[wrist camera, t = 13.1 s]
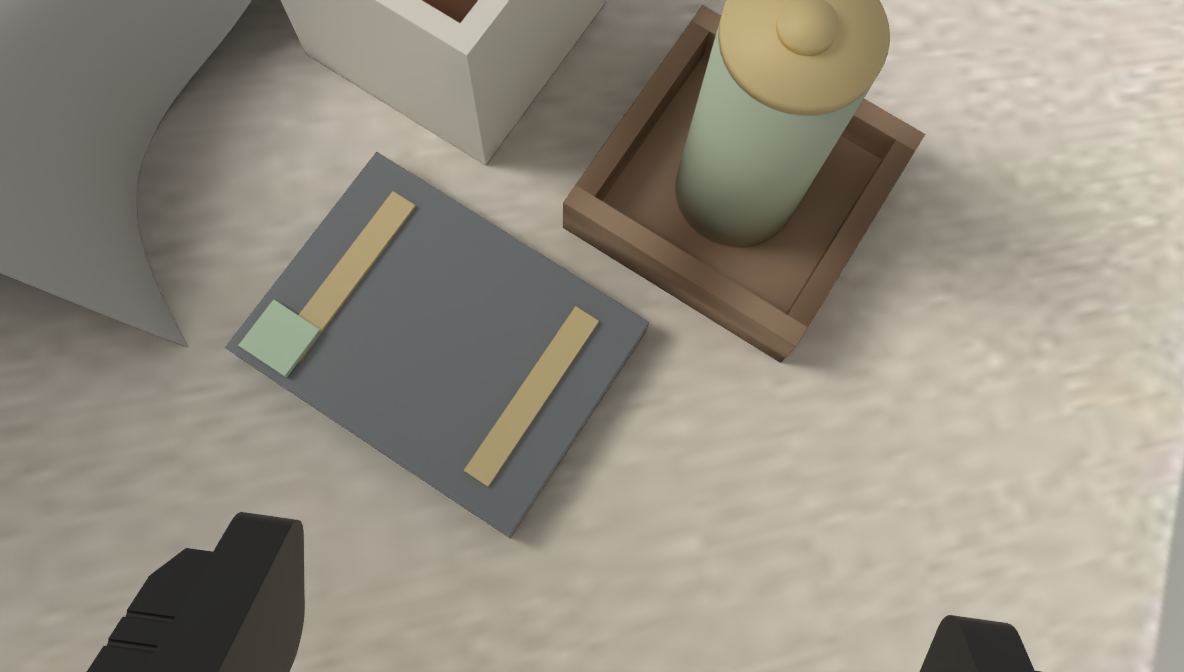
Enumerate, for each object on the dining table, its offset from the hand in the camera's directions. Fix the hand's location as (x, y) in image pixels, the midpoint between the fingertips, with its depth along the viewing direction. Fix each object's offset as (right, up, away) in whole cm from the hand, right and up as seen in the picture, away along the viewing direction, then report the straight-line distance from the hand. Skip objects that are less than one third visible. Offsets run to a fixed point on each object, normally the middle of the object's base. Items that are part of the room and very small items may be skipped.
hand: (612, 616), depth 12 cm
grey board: (-6, +3, +24) cm, 25 cm away
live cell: (+5, +9, +25) cm, 27 cm away
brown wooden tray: (+5, +9, +26) cm, 28 cm away
